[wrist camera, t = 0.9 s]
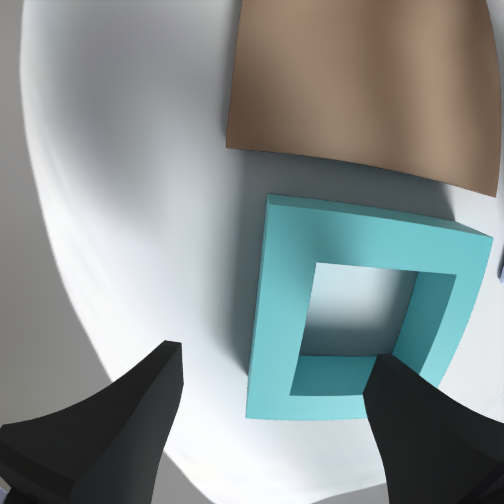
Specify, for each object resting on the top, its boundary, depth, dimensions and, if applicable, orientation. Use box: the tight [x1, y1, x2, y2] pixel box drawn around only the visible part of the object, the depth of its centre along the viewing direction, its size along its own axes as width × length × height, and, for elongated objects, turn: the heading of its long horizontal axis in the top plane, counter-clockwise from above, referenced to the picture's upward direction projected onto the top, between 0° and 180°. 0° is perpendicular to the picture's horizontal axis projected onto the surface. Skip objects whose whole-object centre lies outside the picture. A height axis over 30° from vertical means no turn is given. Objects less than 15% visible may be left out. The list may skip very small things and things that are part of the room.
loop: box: [246, 194, 493, 421], centre depth 14 cm, size 11×11×4 cm
